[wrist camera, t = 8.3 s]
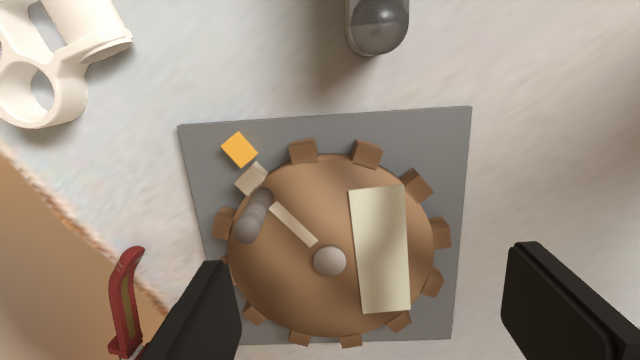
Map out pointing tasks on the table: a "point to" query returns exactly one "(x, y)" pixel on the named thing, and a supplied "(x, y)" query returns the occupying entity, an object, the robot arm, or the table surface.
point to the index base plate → (339, 137)
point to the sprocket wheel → (332, 243)
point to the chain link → (375, 25)
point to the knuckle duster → (54, 57)
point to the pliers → (125, 307)
